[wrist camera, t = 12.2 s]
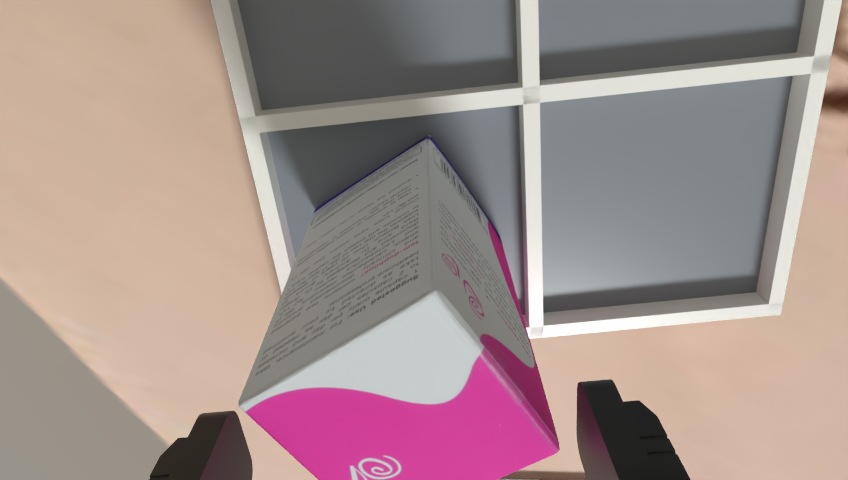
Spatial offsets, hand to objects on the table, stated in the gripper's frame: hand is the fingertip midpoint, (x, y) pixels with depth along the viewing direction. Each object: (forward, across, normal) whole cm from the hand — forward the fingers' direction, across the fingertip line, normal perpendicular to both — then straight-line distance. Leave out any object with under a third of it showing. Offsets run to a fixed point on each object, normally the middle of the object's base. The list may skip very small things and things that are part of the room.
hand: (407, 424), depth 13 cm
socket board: (+12, -5, -5) cm, 14 cm away
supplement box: (+12, 0, 0) cm, 12 cm away
